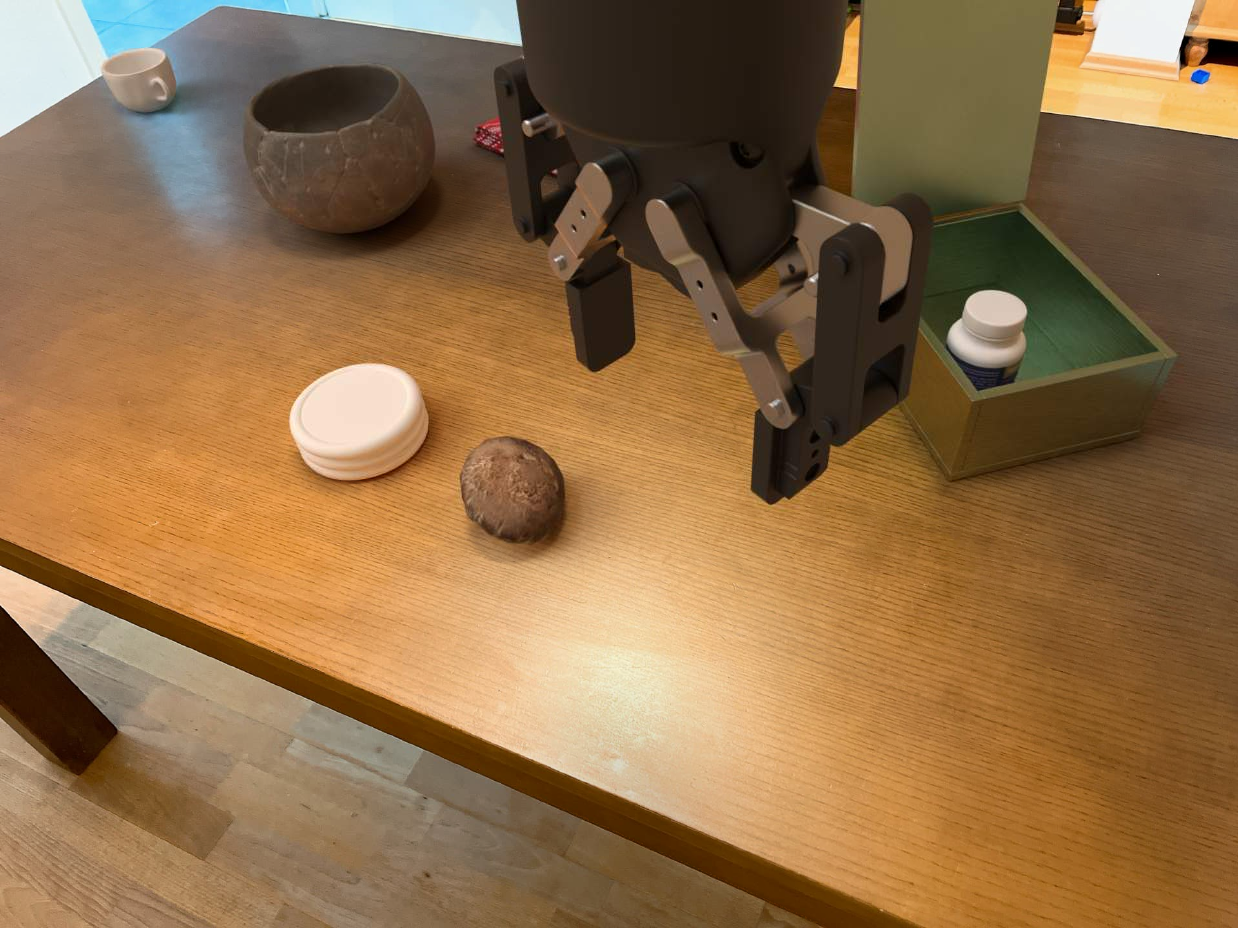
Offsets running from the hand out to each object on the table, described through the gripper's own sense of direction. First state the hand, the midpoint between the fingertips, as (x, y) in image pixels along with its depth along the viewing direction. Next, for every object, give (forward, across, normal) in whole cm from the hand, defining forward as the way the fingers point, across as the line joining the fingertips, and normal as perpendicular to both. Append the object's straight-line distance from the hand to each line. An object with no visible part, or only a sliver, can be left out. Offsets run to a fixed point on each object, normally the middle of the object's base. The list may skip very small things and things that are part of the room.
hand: (687, 416), depth 31 cm
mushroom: (+28, +22, -4) cm, 36 cm away
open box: (+28, +9, -39) cm, 49 cm away
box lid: (+10, +19, -44) cm, 49 cm away
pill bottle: (+28, +7, -35) cm, 45 cm away
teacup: (+28, +107, -10) cm, 111 cm away
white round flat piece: (+28, +37, 0) cm, 47 cm away
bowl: (+28, +66, -16) cm, 74 cm away
